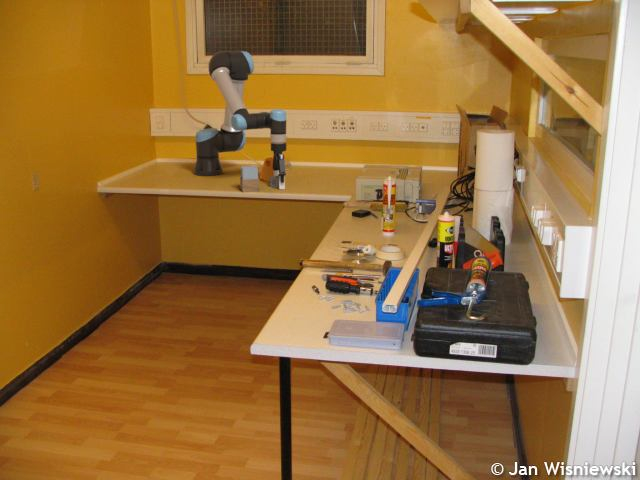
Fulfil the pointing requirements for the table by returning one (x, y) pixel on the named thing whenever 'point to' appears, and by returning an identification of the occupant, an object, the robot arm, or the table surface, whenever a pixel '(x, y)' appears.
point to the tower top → (249, 172)
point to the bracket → (267, 169)
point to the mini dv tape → (425, 206)
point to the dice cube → (274, 181)
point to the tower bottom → (249, 185)
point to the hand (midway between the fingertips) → (279, 186)
